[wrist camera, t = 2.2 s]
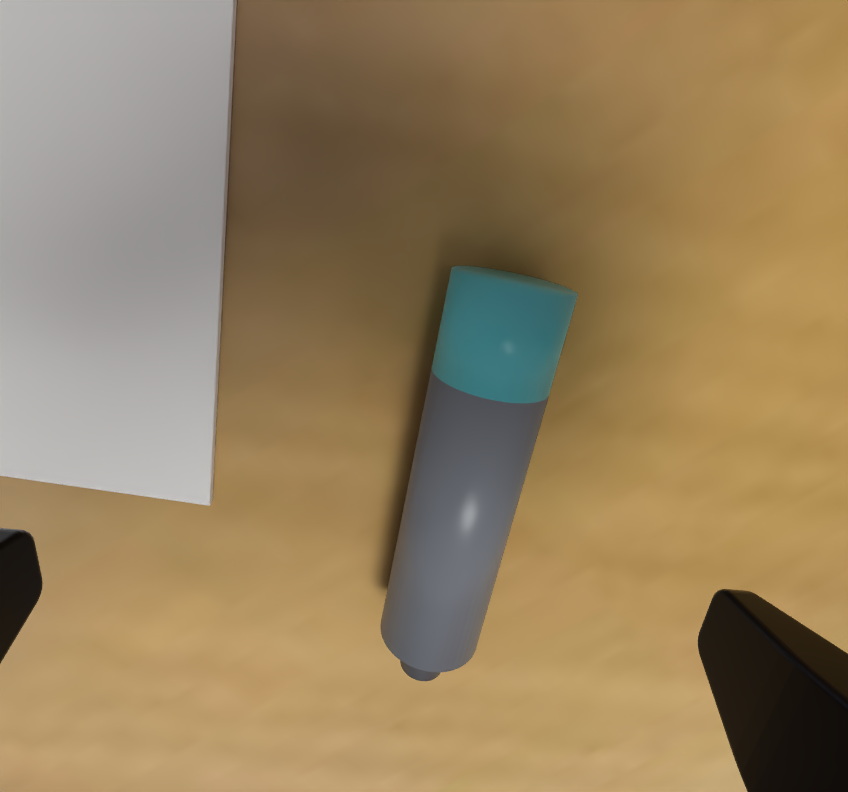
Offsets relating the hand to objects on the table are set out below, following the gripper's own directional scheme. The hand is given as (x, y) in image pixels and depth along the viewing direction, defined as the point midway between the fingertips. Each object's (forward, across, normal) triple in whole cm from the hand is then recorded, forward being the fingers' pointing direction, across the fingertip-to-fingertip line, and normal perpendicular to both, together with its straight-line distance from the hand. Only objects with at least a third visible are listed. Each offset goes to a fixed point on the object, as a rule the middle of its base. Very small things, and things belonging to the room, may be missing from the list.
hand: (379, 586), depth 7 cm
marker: (+11, -2, +5) cm, 12 cm away
